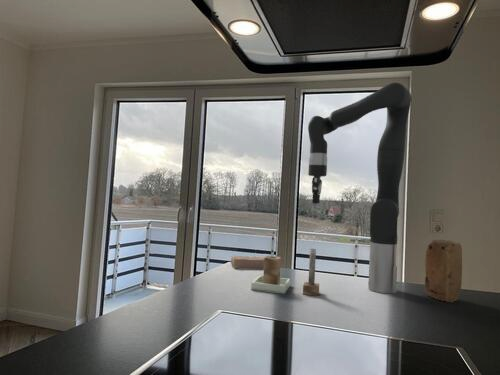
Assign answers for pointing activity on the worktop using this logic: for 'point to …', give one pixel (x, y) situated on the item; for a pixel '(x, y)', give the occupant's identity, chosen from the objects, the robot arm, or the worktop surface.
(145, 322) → the worktop surface
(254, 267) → the brick
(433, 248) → the block
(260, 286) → the tray
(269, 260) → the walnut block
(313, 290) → the stand
